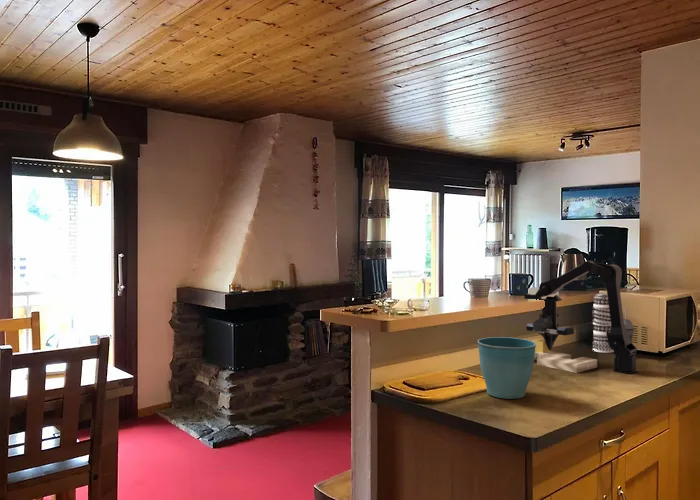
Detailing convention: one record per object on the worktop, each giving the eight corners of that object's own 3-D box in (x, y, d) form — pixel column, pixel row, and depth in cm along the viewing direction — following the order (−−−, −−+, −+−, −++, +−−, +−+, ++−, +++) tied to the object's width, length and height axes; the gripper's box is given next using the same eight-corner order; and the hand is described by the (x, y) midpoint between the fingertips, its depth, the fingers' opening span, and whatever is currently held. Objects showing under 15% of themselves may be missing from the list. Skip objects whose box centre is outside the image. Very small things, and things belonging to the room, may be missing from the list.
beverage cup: (610, 355, 237) (610, 307, 237) (622, 353, 241) (623, 306, 240) (625, 358, 231) (625, 309, 230) (638, 356, 234) (638, 308, 233)
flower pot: (525, 386, 189) (525, 336, 189) (544, 402, 171) (544, 347, 171) (472, 387, 189) (472, 337, 189) (485, 403, 171) (485, 347, 171)
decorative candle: (602, 353, 240) (602, 295, 240) (587, 349, 249) (587, 293, 249) (619, 352, 243) (619, 294, 243) (603, 348, 252) (603, 292, 252)
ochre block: (550, 351, 232) (550, 340, 232) (542, 352, 229) (542, 341, 229) (539, 349, 236) (539, 338, 236) (532, 351, 233) (532, 340, 233)
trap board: (597, 367, 216) (597, 353, 216) (576, 372, 208) (576, 358, 207) (536, 355, 238) (536, 342, 237) (515, 360, 229) (515, 346, 229)
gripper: (517, 311, 231) (518, 349, 231) (557, 315, 216) (558, 356, 216) (534, 309, 238) (534, 345, 238) (574, 313, 223) (575, 352, 223)
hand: (549, 349), depth 228 cm, fingers closed
